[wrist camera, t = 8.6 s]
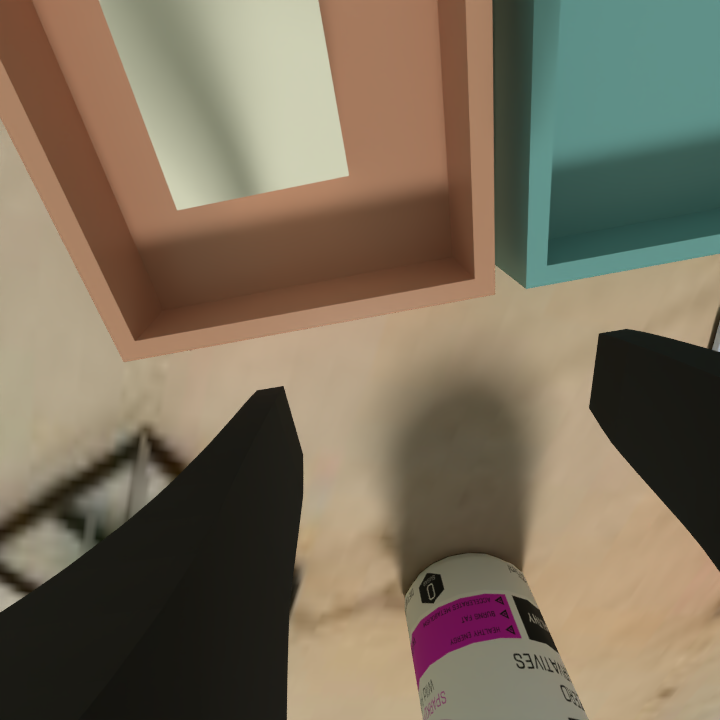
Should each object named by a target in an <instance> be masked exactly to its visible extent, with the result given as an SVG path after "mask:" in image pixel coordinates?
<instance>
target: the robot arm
mask: <svg viewBox="0 0 720 720" xmlns="http://www.w3.org/2000/svg"><path fill="white" fill-rule="evenodd" d="M589 409H590V410H591V412H592V413H593V415H594V417H595V418H596V420H597V422H598V423H599V425H600V426H601V428H602V429H603V431H604V432H605V434H606V435H607V437H608V438H609V440H610V441H611V443H612V444H613V445H614V446H615V448H616V449H617V450H618V451H619V452H620V454H621V455H622V456H623V457H624V458H625V459H626V460H627V462H628V463H629V464H630V465H631V466H632V467H633V468H634V470H635V471H636V472H637V473H638V474H639V475H640V476H641V478H642V479H643V480H644V481H645V482H646V483H647V484H648V485H649V487H650V488H651V489H652V490H653V491H654V492H655V493H656V494H657V496H658V497H659V498H660V499H661V500H662V501H663V502H664V504H665V505H666V506H667V507H668V508H669V509H670V510H671V511H672V513H673V514H674V515H675V516H676V517H677V518H678V519H679V520H680V522H681V523H682V524H683V525H684V526H685V527H686V528H687V530H688V531H689V532H690V533H691V535H692V536H693V537H694V538H695V539H696V541H697V542H698V543H699V544H700V546H701V547H702V548H703V549H704V551H705V552H706V553H707V555H708V556H709V558H710V559H711V560H712V562H713V563H714V564H715V566H716V567H717V569H718V570H719V571H720V322H719V326H718V330H717V333H716V337H715V341H714V344H713V348H712V350H711V349H707V348H703V347H700V346H696V345H692V344H689V343H685V342H681V341H678V340H674V339H670V338H666V337H662V336H658V335H654V334H650V333H646V332H641V331H635V330H629V329H624V330H618V331H612V332H606V333H600V334H599V337H598V345H597V352H596V360H595V368H594V375H593V383H592V390H591V398H590V405H589ZM302 500H303V453H302V449H301V446H300V442H299V439H298V435H297V432H296V428H295V425H294V421H293V418H292V414H291V411H290V408H289V404H288V401H287V397H286V394H285V390H284V387H283V386H281V387H275V388H269V389H263V390H257V391H256V392H255V393H254V394H253V395H252V396H251V397H250V398H249V400H248V401H247V402H246V403H245V404H244V405H243V406H242V408H241V409H240V410H239V411H238V412H237V413H236V414H235V416H234V417H233V418H232V419H231V420H230V421H229V422H228V424H227V425H226V426H225V427H224V428H223V429H222V430H221V431H220V433H219V434H218V435H217V436H216V437H215V438H214V439H213V440H212V441H211V443H210V444H209V445H208V446H207V447H206V448H205V449H204V450H203V451H202V452H201V453H200V454H199V455H198V456H197V457H196V458H195V459H194V460H193V461H192V462H191V463H190V464H189V465H188V466H187V467H186V468H185V469H184V470H183V471H182V472H181V473H180V474H179V475H178V476H177V477H176V478H175V479H174V480H173V481H172V482H171V483H170V484H169V485H168V486H167V487H166V488H165V489H164V490H163V491H161V492H160V493H159V494H158V495H157V496H156V497H155V498H154V499H153V500H151V501H150V502H149V503H148V504H147V505H146V506H144V507H143V508H142V509H141V510H140V511H139V512H137V513H136V514H135V515H134V516H133V517H132V518H130V519H129V520H128V521H127V522H126V523H124V524H123V525H122V526H121V527H119V528H118V529H117V530H115V531H114V532H113V533H112V534H110V535H109V536H108V537H106V538H105V539H104V540H102V541H101V542H100V543H98V544H97V545H96V546H94V547H93V548H92V549H90V550H89V551H88V552H86V553H85V554H84V555H82V556H81V557H80V558H79V559H77V560H76V561H75V562H73V563H72V564H71V565H69V566H68V567H67V568H65V569H64V570H62V571H61V572H60V573H58V574H57V575H55V576H54V577H52V578H51V579H50V580H48V581H47V582H45V583H44V584H42V585H41V586H39V587H38V588H36V589H35V590H34V591H32V592H31V593H29V594H28V595H26V596H25V597H23V598H22V599H20V600H19V601H17V602H16V603H14V604H13V605H11V606H10V607H8V608H6V609H5V610H3V611H2V612H0V720H287V670H288V636H289V609H290V598H291V587H292V579H293V572H294V564H295V556H296V548H297V540H298V533H299V525H300V517H301V508H302Z"/></svg>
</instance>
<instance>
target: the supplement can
mask: <svg viewBox="0 0 720 720" xmlns="http://www.w3.org/2000/svg"><path fill="white" fill-rule="evenodd" d="M405 614H406V620H407V626H408V632H409V638H410V644H411V650H412V656H413V662H414V668H415V674H416V680H417V686H418V692H419V698H420V704H421V711H422V717H423V720H588V717H587V715H586V713H585V711H584V708H583V706H582V704H581V702H580V699H579V697H578V695H577V693H576V691H575V688H574V686H573V684H572V682H571V679H570V677H569V675H568V673H567V670H566V668H565V666H564V664H563V662H562V659H561V657H560V655H559V653H558V650H557V648H556V646H555V644H554V641H553V639H552V637H551V635H550V633H549V630H548V628H547V626H546V624H545V621H544V619H543V617H542V615H541V612H540V610H539V608H538V606H537V603H536V601H535V599H534V597H533V595H532V592H531V590H530V588H529V586H528V583H527V581H526V579H525V577H524V574H523V573H522V572H521V571H520V570H519V569H517V568H516V567H515V566H514V565H513V564H512V563H509V562H506V561H503V560H502V559H500V558H497V557H494V556H491V555H488V554H478V553H466V554H460V555H455V556H450V557H447V558H445V559H443V560H440V561H438V562H436V563H433V564H432V565H430V566H429V567H428V568H427V569H425V570H424V571H423V572H421V573H420V574H419V575H418V577H417V579H416V580H415V581H414V582H413V584H412V586H411V587H410V589H409V590H408V592H407V594H406V595H405Z"/></svg>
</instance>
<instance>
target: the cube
mask: <svg viewBox="0 0 720 720" xmlns="http://www.w3.org/2000/svg"><path fill="white" fill-rule="evenodd" d="M99 3H100V5H101V8H102V11H103V14H104V16H105V19H106V22H107V24H108V27H109V30H110V32H111V35H112V38H113V40H114V43H115V46H116V48H117V51H118V54H119V56H120V59H121V62H122V64H123V67H124V70H125V72H126V75H127V78H128V80H129V83H130V86H131V88H132V91H133V94H134V96H135V99H136V102H137V104H138V107H139V110H140V113H141V115H142V118H143V121H144V123H145V126H146V129H147V131H148V134H149V137H150V139H151V142H152V145H153V147H154V150H155V153H156V155H157V158H158V161H159V163H160V166H161V169H162V171H163V174H164V177H165V179H166V182H167V185H168V187H169V190H170V193H171V195H172V198H173V201H174V203H175V206H176V209H177V210H182V209H187V208H192V207H197V206H202V205H207V204H212V203H217V202H222V201H227V200H232V199H237V198H242V197H246V196H251V195H256V194H261V193H266V192H271V191H276V190H281V189H286V188H291V187H296V186H301V185H306V184H311V183H316V182H321V181H326V180H331V179H336V178H340V177H345V176H349V172H348V166H347V161H346V155H345V149H344V143H343V138H342V132H341V126H340V121H339V115H338V109H337V104H336V98H335V92H334V87H333V81H332V75H331V70H330V64H329V58H328V52H327V47H326V41H325V35H324V30H323V24H322V18H321V13H320V7H319V1H318V0H99Z"/></svg>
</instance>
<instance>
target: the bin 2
mask: <svg viewBox="0 0 720 720" xmlns="http://www.w3.org/2000/svg"><path fill="white" fill-rule="evenodd" d="M492 17H493V122H494V228H495V265H496V266H497V267H499V268H500V269H501V270H503V271H504V272H505V273H506V274H508V275H509V276H510V277H512V278H513V279H514V280H515V281H517V282H518V283H519V284H521V285H522V286H523V287H524V288H526V289H528V288H533V287H539V286H544V285H550V284H555V283H561V282H566V281H572V280H577V279H583V278H588V277H594V276H599V275H604V274H610V273H615V272H621V271H626V270H632V269H637V268H643V267H648V266H654V265H659V264H665V263H670V262H676V261H681V260H687V259H692V258H698V257H703V256H709V255H714V254H720V0H492Z"/></svg>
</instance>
